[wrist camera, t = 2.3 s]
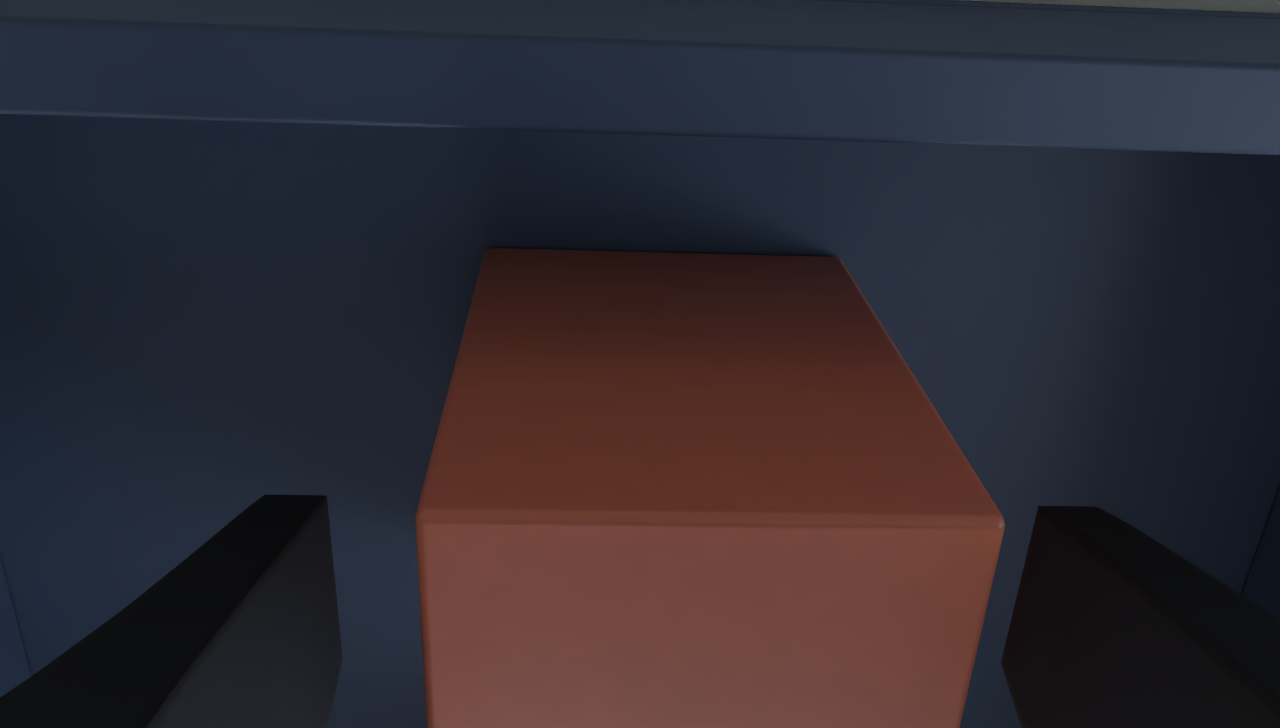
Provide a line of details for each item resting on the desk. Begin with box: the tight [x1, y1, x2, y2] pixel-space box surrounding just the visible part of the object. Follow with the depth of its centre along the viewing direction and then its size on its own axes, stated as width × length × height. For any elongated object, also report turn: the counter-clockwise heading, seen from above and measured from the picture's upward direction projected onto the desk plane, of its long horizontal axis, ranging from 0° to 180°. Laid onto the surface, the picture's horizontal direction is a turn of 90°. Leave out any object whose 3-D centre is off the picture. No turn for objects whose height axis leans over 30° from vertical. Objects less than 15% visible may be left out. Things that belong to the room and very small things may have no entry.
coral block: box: [415, 248, 1005, 728], centre depth 12 cm, size 4×4×6 cm
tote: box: [0, 0, 1280, 728], centre depth 15 cm, size 20×18×4 cm
